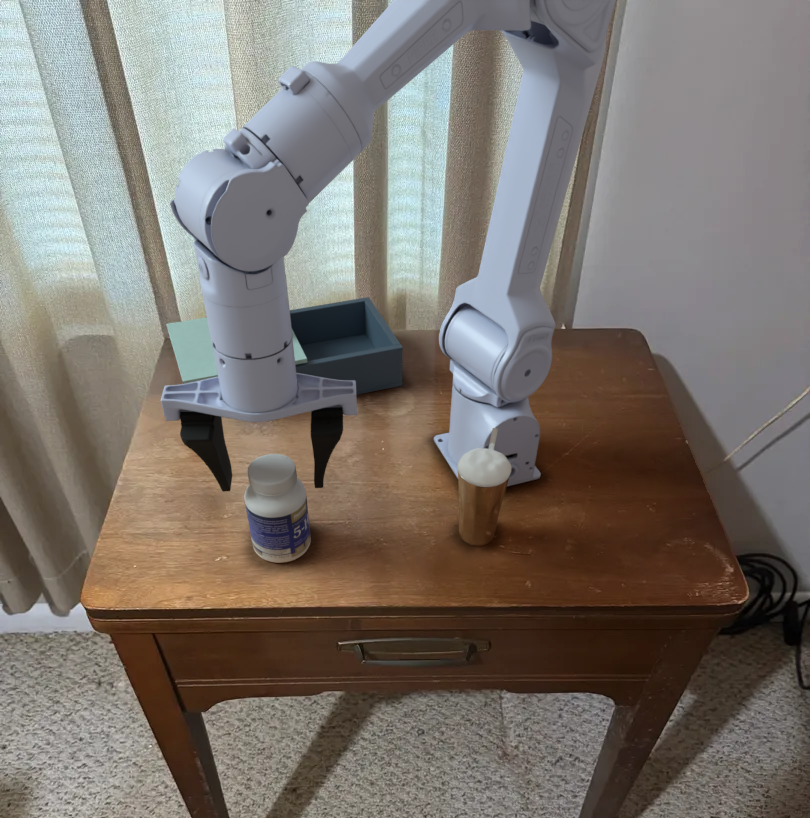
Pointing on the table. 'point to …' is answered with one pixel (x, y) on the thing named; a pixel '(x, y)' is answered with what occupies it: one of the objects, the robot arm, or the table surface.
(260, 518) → the pill bottle
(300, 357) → the sliding lid
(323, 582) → the table surface
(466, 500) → the milkshake
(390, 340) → the case
